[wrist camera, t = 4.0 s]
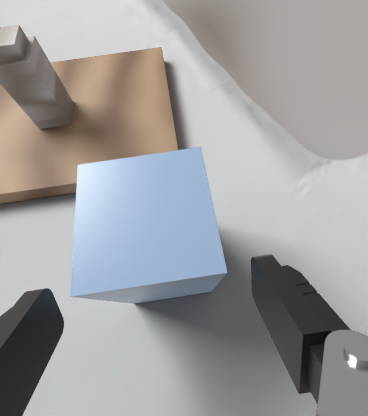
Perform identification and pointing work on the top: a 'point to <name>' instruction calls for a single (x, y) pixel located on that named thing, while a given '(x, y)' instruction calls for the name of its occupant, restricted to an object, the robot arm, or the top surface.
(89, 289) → the light blue block
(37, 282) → the top surface
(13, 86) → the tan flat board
